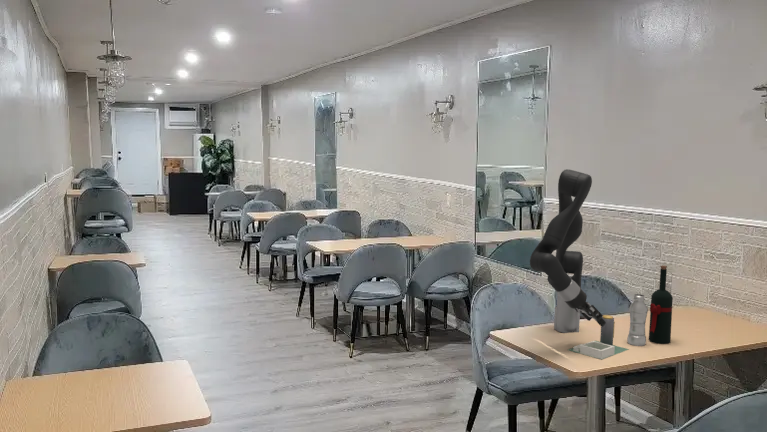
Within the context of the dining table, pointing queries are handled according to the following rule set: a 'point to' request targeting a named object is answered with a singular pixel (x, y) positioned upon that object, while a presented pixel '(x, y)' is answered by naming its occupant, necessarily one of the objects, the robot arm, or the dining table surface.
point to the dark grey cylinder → (607, 330)
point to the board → (597, 349)
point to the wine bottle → (661, 312)
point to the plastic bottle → (637, 321)
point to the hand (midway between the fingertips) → (597, 321)
